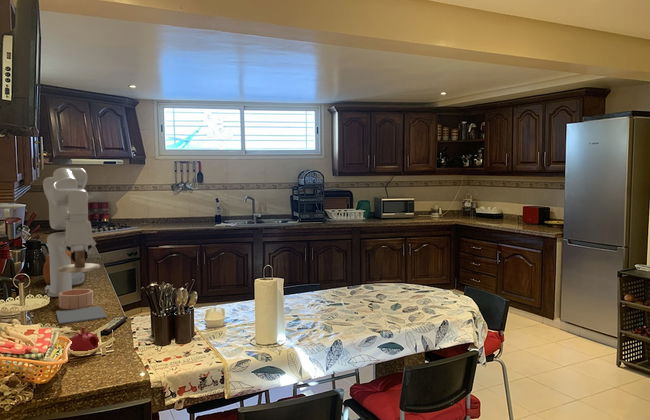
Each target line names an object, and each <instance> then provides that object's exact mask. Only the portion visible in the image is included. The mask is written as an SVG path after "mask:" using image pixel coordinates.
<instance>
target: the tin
mask: <svg viewBox="0 0 650 420" xmlns="http://www.w3.org/2000/svg"><path fill="white" fill-rule="evenodd" d="M86 273H87V272H77V273H71V277H72V287H74V286H80V285H83V284H84V283H85V282H86V280H87V274H86Z"/></svg>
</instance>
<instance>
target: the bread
mask: <svg viewBox="0 0 650 420" xmlns="http://www.w3.org/2000/svg"><path fill="white" fill-rule="evenodd" d="M65 253H66V254H67V255H68V256H69V257H70V259H71V252H70V251H65ZM71 264H74V262H73V260H71ZM42 271H43V280H44V282H45V283H46V284H48V285H50V257H49V253H47V255H46V258H45V262H44V264H43V268H42Z"/></svg>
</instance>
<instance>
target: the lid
mask: <svg viewBox="0 0 650 420" xmlns="http://www.w3.org/2000/svg"><path fill="white" fill-rule="evenodd" d="M74 252H75V262H74V264H71V265H65V266H61V267H59V271H60V272H66V273H77V272H85V273H87V272H92V271H93V272H94V271H97V270H99V269H100V268H101V265H100V264H99V263H93V262H92V263H91V262H90V263H89V262H87V263H86V261H85V251H84V249H81V250H74Z"/></svg>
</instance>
